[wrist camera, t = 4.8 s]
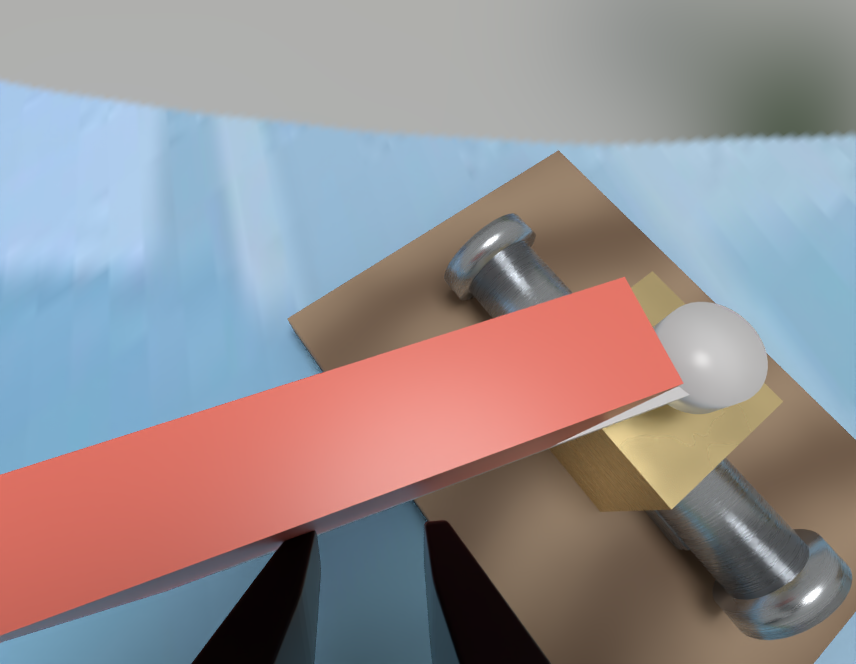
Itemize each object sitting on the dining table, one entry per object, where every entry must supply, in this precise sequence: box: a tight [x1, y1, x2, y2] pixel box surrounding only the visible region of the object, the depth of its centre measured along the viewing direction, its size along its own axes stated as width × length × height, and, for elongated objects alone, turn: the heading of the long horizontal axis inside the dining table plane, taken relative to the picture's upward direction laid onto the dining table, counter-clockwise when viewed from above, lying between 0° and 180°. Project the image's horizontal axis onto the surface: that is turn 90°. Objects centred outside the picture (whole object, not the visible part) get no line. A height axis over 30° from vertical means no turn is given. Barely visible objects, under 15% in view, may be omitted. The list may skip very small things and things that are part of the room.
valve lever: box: [0, 277, 768, 643], centre depth 9 cm, size 15×3×7 cm, turn 110°
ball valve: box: [444, 213, 852, 640], centre depth 17 cm, size 16×5×6 cm, turn 37°
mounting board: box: [288, 150, 856, 664], centre depth 20 cm, size 22×16×2 cm
